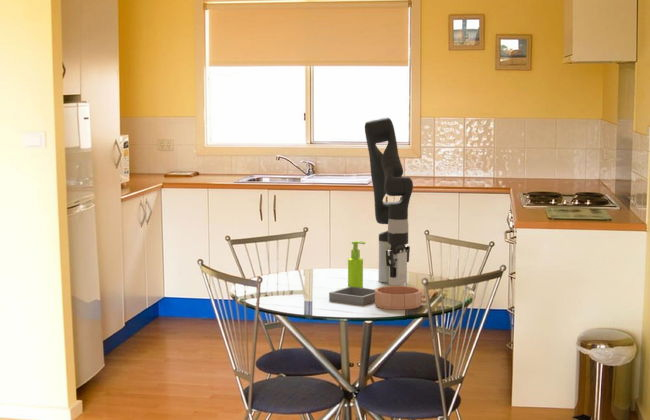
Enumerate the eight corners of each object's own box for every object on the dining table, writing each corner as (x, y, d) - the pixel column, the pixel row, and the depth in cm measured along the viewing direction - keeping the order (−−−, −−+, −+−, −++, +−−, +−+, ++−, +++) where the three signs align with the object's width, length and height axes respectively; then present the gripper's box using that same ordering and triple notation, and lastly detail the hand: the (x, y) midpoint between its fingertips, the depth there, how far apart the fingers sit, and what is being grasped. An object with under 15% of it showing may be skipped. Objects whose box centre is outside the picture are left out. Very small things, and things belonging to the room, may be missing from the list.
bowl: (389, 298, 359) (389, 284, 358) (429, 303, 349) (429, 288, 349) (366, 306, 345) (366, 291, 344) (406, 311, 335) (407, 296, 335)
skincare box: (397, 282, 350) (397, 250, 349) (407, 283, 347) (407, 251, 346) (387, 284, 345) (388, 252, 344) (397, 286, 342) (398, 253, 341)
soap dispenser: (364, 293, 369) (364, 242, 366) (346, 292, 370) (346, 242, 368) (366, 290, 374) (366, 240, 372) (349, 289, 376) (349, 240, 373)
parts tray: (350, 293, 367) (350, 286, 367) (383, 298, 359) (383, 290, 359) (329, 300, 355) (329, 292, 355) (363, 305, 347) (363, 297, 346)
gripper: (398, 228, 352) (398, 272, 354) (379, 232, 340) (379, 277, 342) (416, 229, 348) (416, 274, 350) (397, 234, 336) (396, 280, 338)
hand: (397, 275), depth 346 cm, fingers closed on skincare box, 6 cm apart
